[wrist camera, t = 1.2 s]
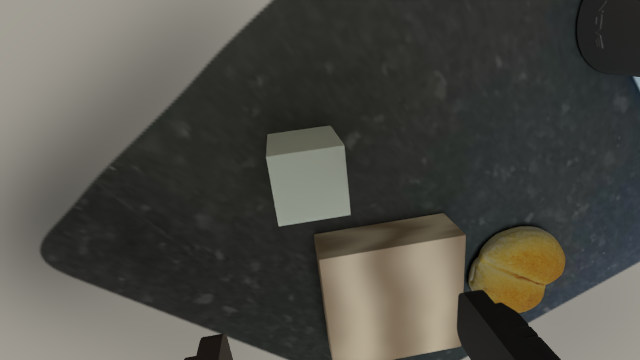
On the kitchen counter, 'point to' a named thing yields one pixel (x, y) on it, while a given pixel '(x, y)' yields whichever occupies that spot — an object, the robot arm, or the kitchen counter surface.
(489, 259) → the bread roll
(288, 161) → the sage block
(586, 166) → the kitchen counter surface
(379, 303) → the birch plinth
